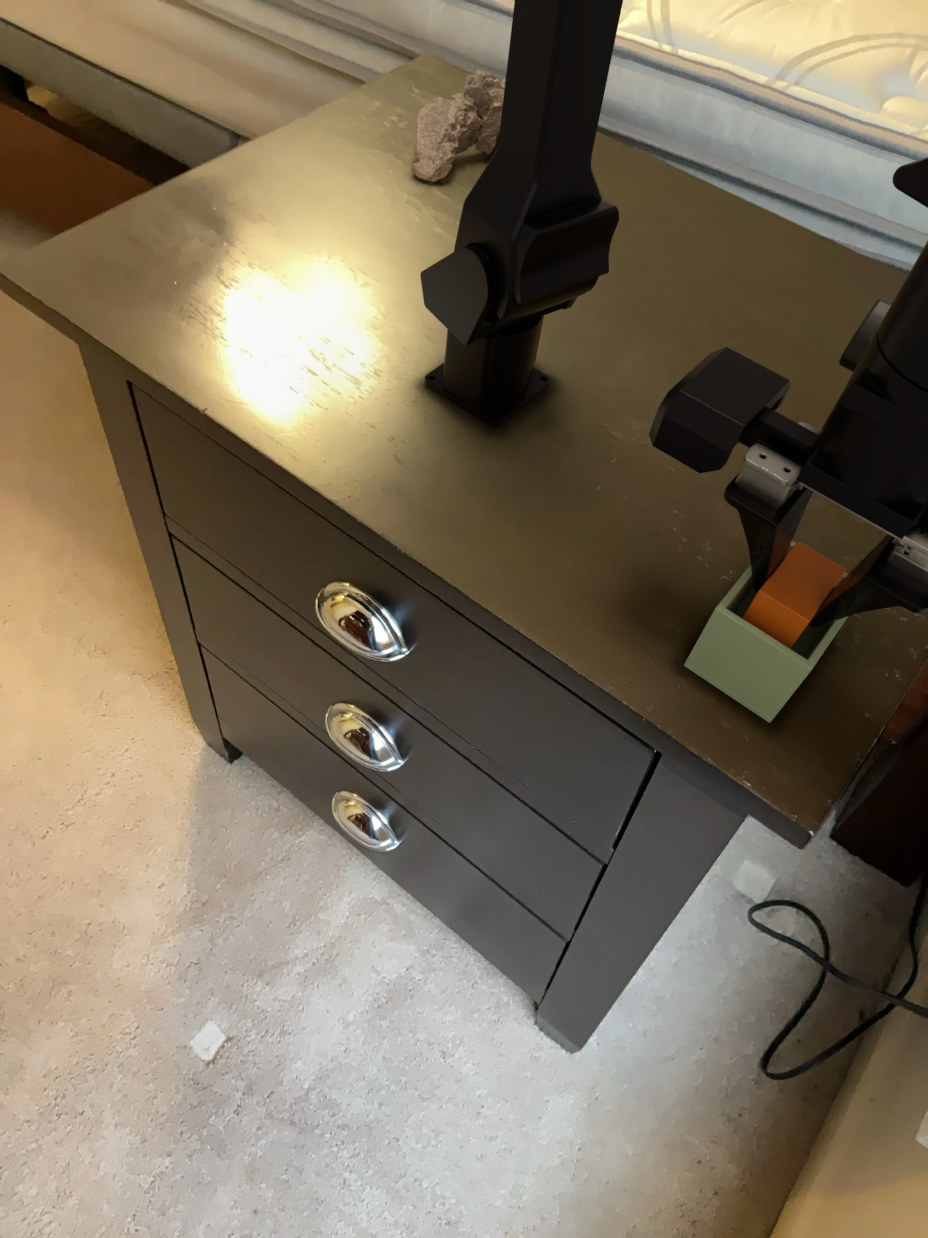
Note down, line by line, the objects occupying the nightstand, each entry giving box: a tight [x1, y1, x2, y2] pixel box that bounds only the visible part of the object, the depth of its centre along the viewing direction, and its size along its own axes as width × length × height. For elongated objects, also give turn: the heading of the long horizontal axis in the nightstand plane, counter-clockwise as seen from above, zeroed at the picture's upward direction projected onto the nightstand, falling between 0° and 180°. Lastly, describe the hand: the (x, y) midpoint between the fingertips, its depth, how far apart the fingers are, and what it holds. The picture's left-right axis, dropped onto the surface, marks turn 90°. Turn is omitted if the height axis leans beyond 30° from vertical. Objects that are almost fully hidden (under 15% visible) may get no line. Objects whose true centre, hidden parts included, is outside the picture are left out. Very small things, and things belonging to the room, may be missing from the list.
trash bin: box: [683, 540, 849, 724], centre depth 46 cm, size 7×5×5 cm
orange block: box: [742, 540, 847, 649], centre depth 44 cm, size 4×3×3 cm, turn 141°
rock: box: [412, 69, 506, 183], centre depth 75 cm, size 6×14×7 cm, turn 113°
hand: (787, 604), depth 45 cm, fingers closed on orange block, 3 cm apart
